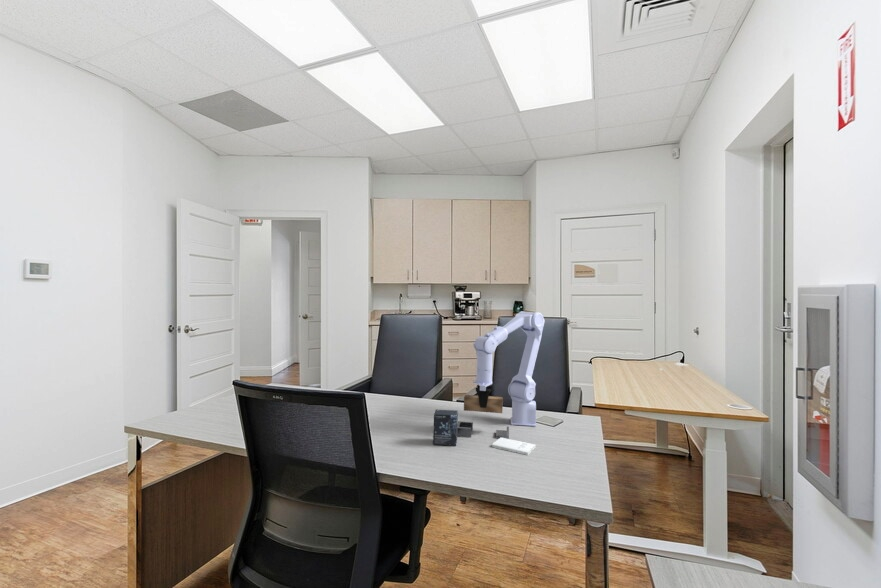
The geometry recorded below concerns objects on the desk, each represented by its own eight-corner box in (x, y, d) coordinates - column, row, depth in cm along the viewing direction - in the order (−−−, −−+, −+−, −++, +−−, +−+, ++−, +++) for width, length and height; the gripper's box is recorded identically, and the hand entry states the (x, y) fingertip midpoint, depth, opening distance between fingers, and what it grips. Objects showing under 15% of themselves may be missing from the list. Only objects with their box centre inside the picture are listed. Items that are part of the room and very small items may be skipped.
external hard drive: (501, 441, 145) (535, 448, 138) (491, 448, 138) (527, 456, 131) (501, 436, 145) (535, 443, 138) (491, 444, 138) (527, 451, 131)
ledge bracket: (508, 433, 151) (508, 426, 151) (508, 439, 145) (508, 432, 145) (496, 432, 152) (496, 425, 152) (495, 438, 146) (495, 431, 146)
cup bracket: (472, 430, 154) (472, 422, 154) (470, 437, 147) (471, 428, 146) (458, 429, 155) (458, 421, 155) (455, 435, 147) (455, 427, 147)
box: (433, 445, 138) (433, 413, 138) (434, 439, 144) (435, 409, 144) (456, 446, 137) (457, 414, 137) (457, 440, 143) (458, 410, 143)
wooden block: (502, 410, 153) (502, 397, 153) (502, 413, 150) (502, 399, 150) (464, 407, 155) (465, 394, 155) (463, 410, 152) (464, 396, 152)
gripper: (475, 365, 160) (474, 400, 160) (471, 372, 146) (470, 410, 146) (493, 366, 159) (492, 401, 159) (491, 373, 145) (490, 412, 145)
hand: (483, 405), depth 152 cm, fingers closed on wooden block, 3 cm apart
